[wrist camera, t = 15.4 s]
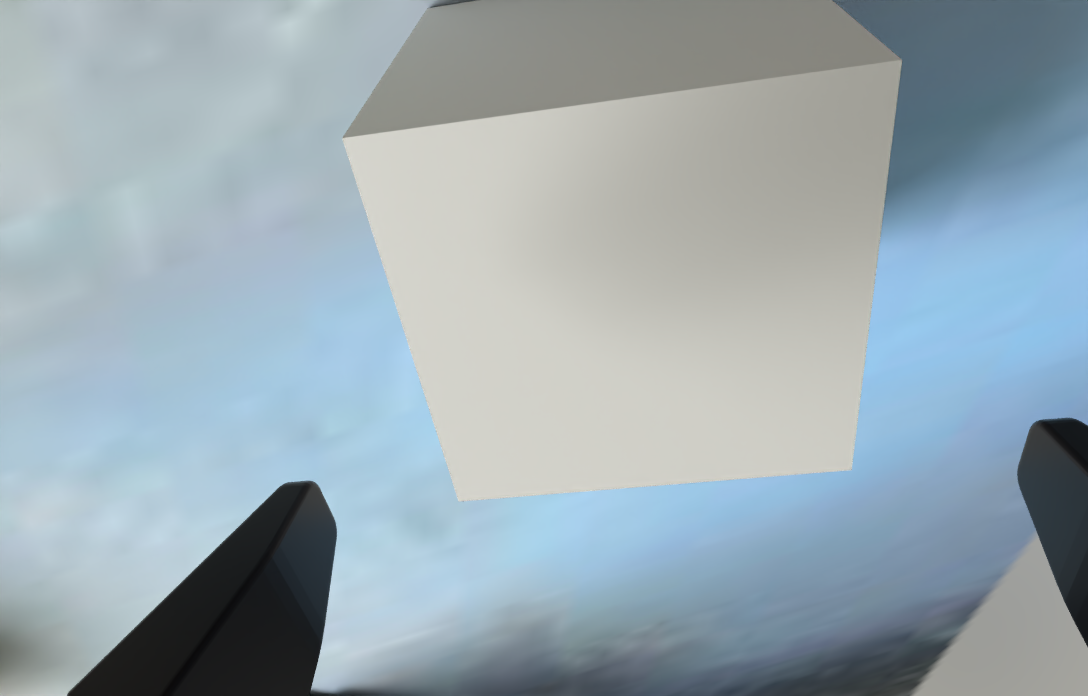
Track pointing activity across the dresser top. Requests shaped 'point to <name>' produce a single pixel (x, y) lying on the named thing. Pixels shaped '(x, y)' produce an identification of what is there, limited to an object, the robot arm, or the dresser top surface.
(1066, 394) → the dresser top surface
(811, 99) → the white cube
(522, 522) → the dresser top surface
